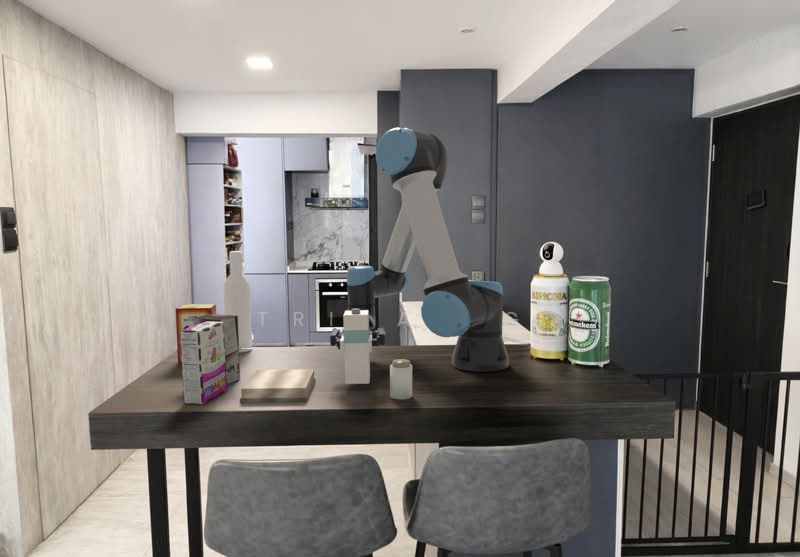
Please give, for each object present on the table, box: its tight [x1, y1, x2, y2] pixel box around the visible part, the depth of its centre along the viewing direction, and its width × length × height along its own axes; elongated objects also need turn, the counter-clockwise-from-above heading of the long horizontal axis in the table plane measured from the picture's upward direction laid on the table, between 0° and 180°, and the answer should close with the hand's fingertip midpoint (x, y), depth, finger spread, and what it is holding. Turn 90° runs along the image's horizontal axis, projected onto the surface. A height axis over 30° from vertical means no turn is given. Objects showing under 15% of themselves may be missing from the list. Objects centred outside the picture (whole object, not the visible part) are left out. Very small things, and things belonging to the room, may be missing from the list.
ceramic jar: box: [389, 358, 413, 400], centre depth 136 cm, size 5×5×8 cm
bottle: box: [223, 250, 253, 354], centre depth 183 cm, size 8×8×30 cm
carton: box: [342, 309, 371, 385], centre depth 142 cm, size 6×7×17 cm
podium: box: [239, 368, 317, 403], centre depth 141 cm, size 15×17×3 cm
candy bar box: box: [180, 321, 228, 405], centre depth 136 cm, size 11×5×16 cm, turn 168°
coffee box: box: [193, 313, 241, 385], centre depth 150 cm, size 9×6×16 cm
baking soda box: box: [175, 303, 217, 365], centre depth 169 cm, size 10×6×16 cm
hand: (355, 346), depth 137 cm, fingers closed on carton, 6 cm apart
